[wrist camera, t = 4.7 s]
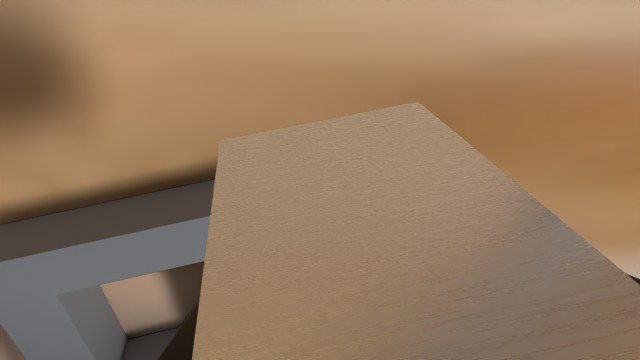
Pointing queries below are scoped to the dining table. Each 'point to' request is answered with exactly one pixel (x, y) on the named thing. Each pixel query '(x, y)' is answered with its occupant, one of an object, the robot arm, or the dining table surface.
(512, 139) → the dining table surface
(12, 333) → the socket plate
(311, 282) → the steel peg
